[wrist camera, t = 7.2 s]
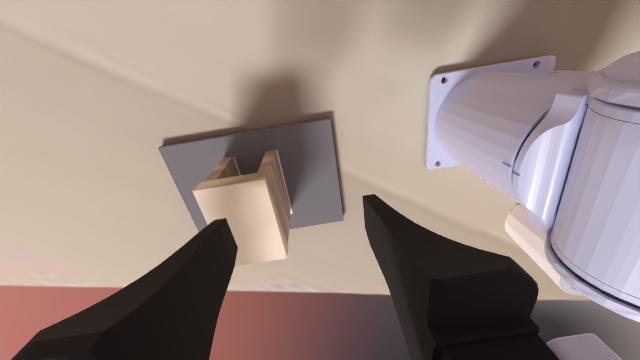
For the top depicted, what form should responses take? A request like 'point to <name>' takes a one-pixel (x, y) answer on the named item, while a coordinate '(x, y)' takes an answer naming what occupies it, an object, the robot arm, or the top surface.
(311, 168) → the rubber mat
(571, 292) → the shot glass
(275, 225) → the two-pronged tan block
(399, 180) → the top surface
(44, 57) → the top surface
